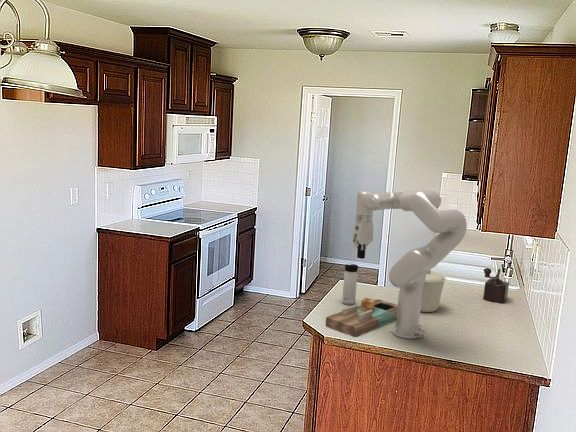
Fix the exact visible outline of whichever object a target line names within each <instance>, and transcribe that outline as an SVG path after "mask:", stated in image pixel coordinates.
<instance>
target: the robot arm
mask: <svg viewBox="0 0 576 432" xmlns="http://www.w3.org/2000/svg"><path fill="white" fill-rule="evenodd" d="M441 203H442V197H441V195H440V194H439V193H438V192H436V191H435V190H405V191H390V192H389V191H388V192H387V191H386V192H384V191H383V192H376V193H374V192H373V191H369V190H359V191H358V192H357V195H356V206H355V207H356V208H355V222H354V225H353V233H352V242H353V246H354V247H356V249H357V251H356V252H357V254H356V258H358V259H360V260H361V259H363V260H364V259H365V258H366V250H367V247H368V245H371V243H372V242H373V241H374V222H373V215H374V214H373V213H374V212H375V211H383V210H384V211H385V210H402V211H403V212H412V213H414V215H415V216H416V217H417V218H418V219H419V220H420V221H421V222H422V224H424V225H425V227H427V228H428V230H430V231H431V232H433V233H435V234H437V235H436V236H434V237H433V238H432V239H431V240H430V241H429V242H427V244H425V245H423V246H421V247H417V248H413V249H412V248H411V250H409V251H407V252H406V253H405V254H404V255H402V257H401V258H400V259H399V260H398V261H397V262H395V264H393V265H392V267H391V268H390V270H389V272H388V280H389V282H390V284H391V285H392V286H393V287H396V288H399V290H398V299H397V305H398V308H397V319H396V320H395V321H396V322H395V326H393V327H392V328H391V333H392V334H393V335H394V336H395V337H399V338H401V339H402V338H403V339H408V340H410V339H411V340H412V339H413V340H414V339H415V340H417V339H419V338H421V337H425V336H426V335H427V330H425V329H423V328H422V325H421V324H420V319H421V318H420V317H421V311H420V308H421V299H422V291H423V286H424V282H425V279H426V270H429V269H431V270H432V269H434V268H435V267H436V266H437V265H439V264H440V263H441V261H443V260H444V259H445V258H446V257H447V256H448V255H449V254H450V253H451V252H453V250H454V249H455V248H456V247H457V246H458V245H459V244H461V242H462V241H463V240H464V237H465V236H466V232H467V227H468V225H467V218H466V216H465V214H463V212H461V211H459V210H458V209H445V210H439V208H440V206H441Z"/></svg>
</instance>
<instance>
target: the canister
mask: <svg viewBox="0 0 576 432" xmlns="http://www.w3.org/2000/svg"><path fill="white" fill-rule="evenodd" d="M446 280H447V277H446V276H444V275H443V274H442V273H439V272H437V271H433V270H432V269H429V270H426V279H425V282H424V286H423V291H422V299H421V308H420V313H432V312H433V313H434V312H435V311H436V310H437V309H438V307H439V305H440V301H441V297H442V294H443V293H442V292H443V289H444V283H445V282H446Z"/></svg>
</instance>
